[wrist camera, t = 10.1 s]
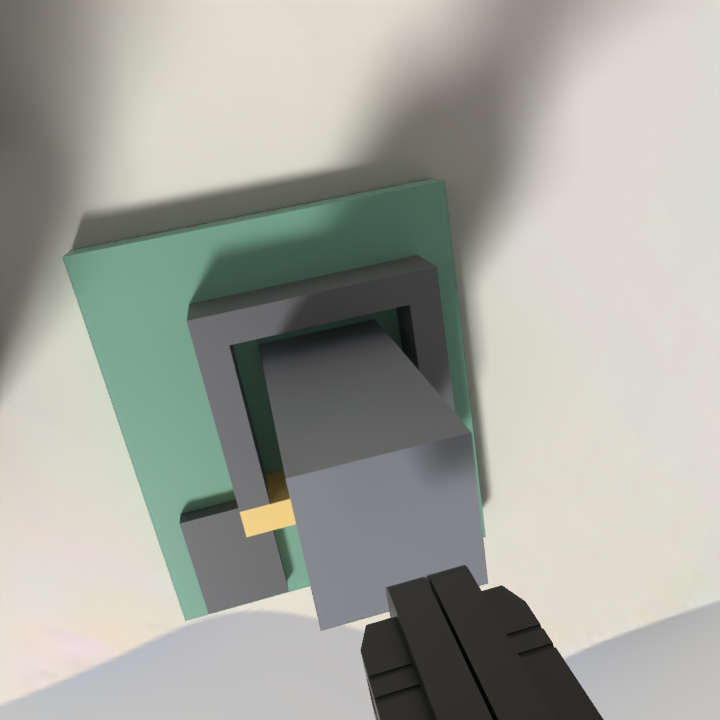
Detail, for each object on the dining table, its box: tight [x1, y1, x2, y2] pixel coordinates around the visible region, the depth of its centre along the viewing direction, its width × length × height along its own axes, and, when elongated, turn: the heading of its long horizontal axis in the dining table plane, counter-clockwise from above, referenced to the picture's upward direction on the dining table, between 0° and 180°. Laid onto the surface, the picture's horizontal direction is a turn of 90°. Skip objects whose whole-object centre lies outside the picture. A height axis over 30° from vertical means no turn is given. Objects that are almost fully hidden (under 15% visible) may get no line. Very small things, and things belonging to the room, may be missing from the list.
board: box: [63, 178, 486, 621], centre depth 22 cm, size 14×12×3 cm
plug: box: [258, 319, 488, 631], centre depth 18 cm, size 4×4×9 cm
